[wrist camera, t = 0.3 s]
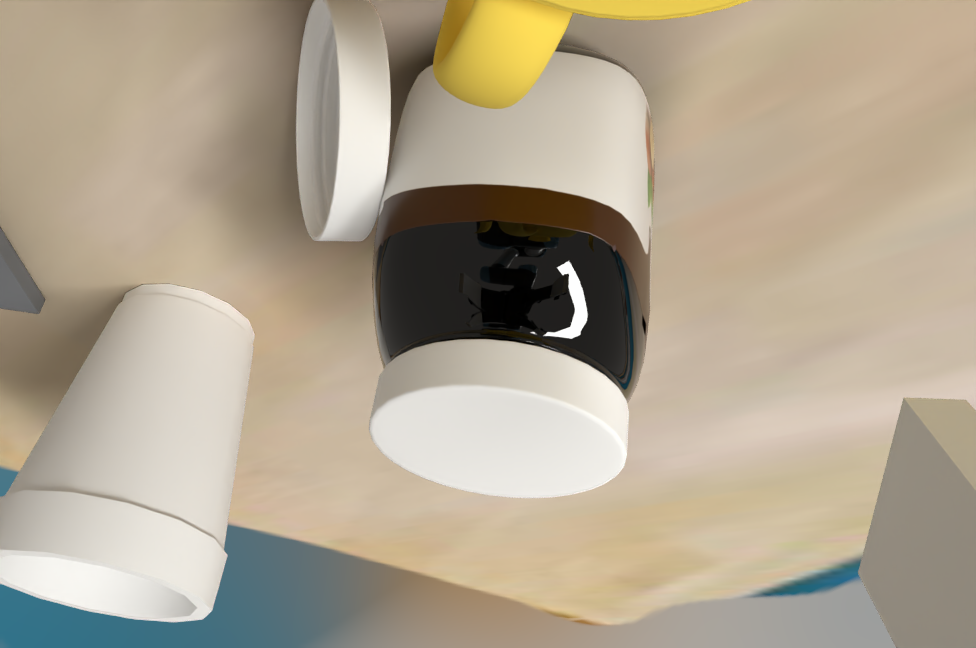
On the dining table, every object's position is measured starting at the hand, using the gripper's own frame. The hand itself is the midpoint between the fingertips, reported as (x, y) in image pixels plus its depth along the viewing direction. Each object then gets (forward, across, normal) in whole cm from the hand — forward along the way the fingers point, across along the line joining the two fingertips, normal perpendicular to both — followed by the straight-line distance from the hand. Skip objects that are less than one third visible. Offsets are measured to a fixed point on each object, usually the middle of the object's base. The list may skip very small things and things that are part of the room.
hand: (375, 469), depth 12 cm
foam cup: (+30, -13, -12) cm, 35 cm away
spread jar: (+20, +1, 0) cm, 20 cm away
